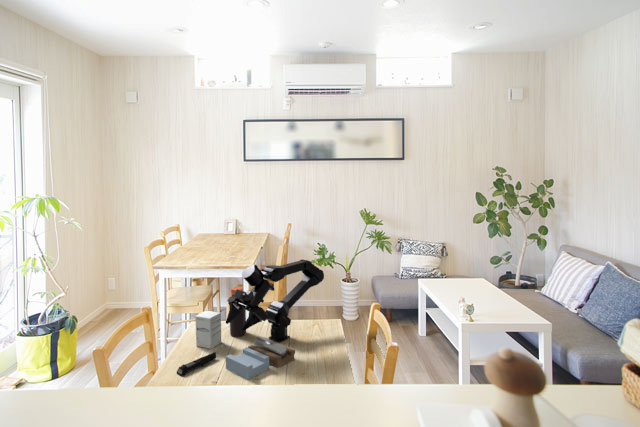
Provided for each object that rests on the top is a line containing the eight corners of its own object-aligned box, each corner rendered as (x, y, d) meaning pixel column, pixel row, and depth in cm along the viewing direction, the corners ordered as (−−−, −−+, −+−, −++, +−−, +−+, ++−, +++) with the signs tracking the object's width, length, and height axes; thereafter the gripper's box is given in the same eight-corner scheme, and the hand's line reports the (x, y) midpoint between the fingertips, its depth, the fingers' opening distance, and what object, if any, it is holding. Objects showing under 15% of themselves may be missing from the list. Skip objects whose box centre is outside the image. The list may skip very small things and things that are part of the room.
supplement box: (195, 346, 161) (194, 315, 160) (207, 339, 168) (206, 309, 167) (210, 349, 159) (209, 318, 157) (222, 342, 165) (221, 312, 164)
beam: (248, 355, 153) (248, 346, 153) (265, 347, 160) (265, 338, 160) (277, 368, 143) (277, 358, 143) (295, 359, 150) (295, 350, 150)
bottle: (227, 336, 171) (226, 290, 169) (234, 330, 177) (233, 285, 175) (242, 337, 169) (241, 291, 167) (248, 331, 176) (247, 286, 174)
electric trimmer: (219, 361, 150) (218, 352, 149) (182, 377, 138) (182, 368, 137) (212, 358, 152) (212, 350, 152) (175, 374, 140) (175, 365, 140)
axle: (254, 348, 154) (254, 338, 154) (262, 345, 157) (262, 335, 157) (280, 359, 145) (280, 348, 145) (288, 355, 148) (288, 345, 148)
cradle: (226, 368, 143) (225, 356, 143) (247, 358, 150) (246, 347, 150) (248, 379, 135) (247, 366, 135) (269, 368, 143) (269, 356, 142)
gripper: (232, 275, 160) (207, 308, 153) (263, 286, 148) (237, 323, 141) (247, 291, 167) (223, 323, 159) (278, 303, 155) (254, 338, 147)
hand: (233, 327), depth 152 cm, fingers open, 9 cm apart
